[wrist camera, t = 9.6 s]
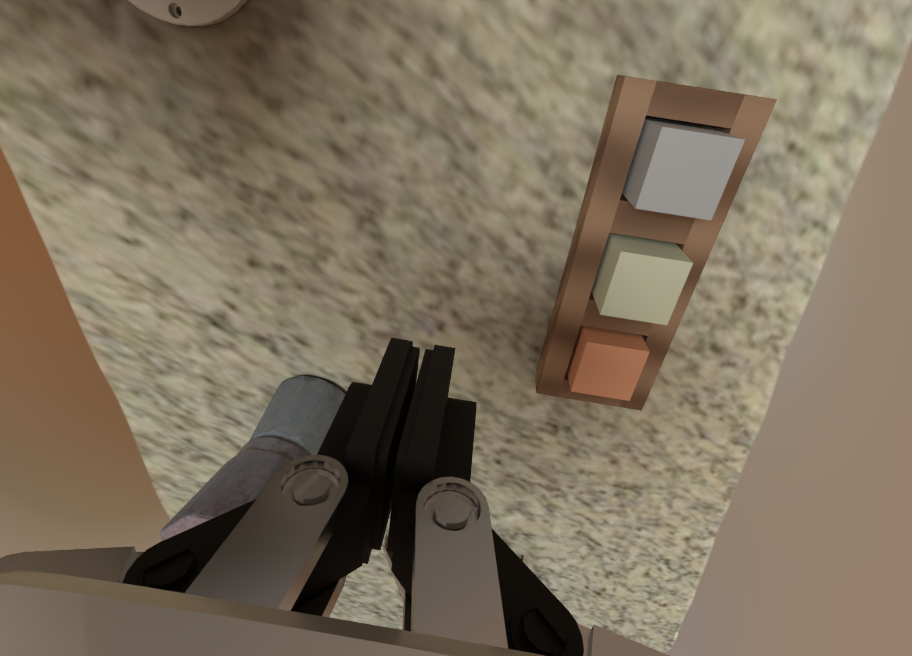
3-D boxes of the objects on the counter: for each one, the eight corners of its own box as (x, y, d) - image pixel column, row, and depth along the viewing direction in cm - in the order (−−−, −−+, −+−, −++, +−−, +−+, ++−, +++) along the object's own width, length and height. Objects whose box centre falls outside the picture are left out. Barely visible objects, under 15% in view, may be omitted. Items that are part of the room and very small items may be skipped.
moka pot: (232, 388, 49) (83, 568, 32) (360, 349, 45) (269, 530, 28) (281, 453, 53) (172, 643, 36) (402, 422, 49) (346, 619, 32)
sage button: (652, 301, 38) (667, 325, 35) (591, 291, 38) (600, 314, 35) (675, 243, 35) (693, 262, 32) (609, 232, 35) (620, 251, 32)
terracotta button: (619, 373, 43) (629, 401, 39) (565, 364, 43) (571, 391, 39) (637, 326, 40) (649, 352, 37) (580, 317, 40) (587, 341, 37)
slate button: (690, 204, 34) (711, 220, 30) (622, 193, 34) (635, 208, 31) (719, 130, 31) (745, 139, 28) (645, 119, 31) (662, 126, 28)
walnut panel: (634, 393, 44) (641, 410, 42) (535, 377, 45) (536, 393, 42) (758, 96, 31) (777, 99, 29) (617, 74, 32) (625, 76, 29)
